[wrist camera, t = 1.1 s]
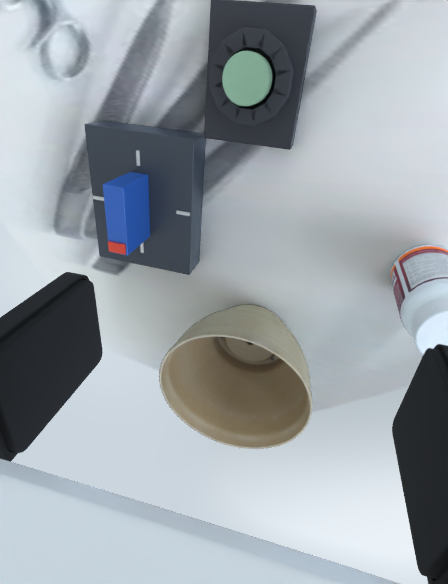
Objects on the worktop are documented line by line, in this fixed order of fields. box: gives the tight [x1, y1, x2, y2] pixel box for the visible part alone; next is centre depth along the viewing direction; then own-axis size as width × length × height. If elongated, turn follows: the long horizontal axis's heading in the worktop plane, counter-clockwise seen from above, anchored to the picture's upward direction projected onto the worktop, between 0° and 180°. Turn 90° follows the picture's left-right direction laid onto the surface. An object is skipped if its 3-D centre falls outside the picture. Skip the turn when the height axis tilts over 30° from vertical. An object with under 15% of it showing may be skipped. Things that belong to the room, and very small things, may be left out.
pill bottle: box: [390, 245, 448, 355], centre depth 31 cm, size 6×6×11 cm
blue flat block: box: [103, 172, 150, 255], centre depth 34 cm, size 6×2×5 cm, turn 175°
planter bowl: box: [159, 305, 312, 449], centre depth 41 cm, size 16×16×11 cm
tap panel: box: [85, 120, 206, 275], centre depth 38 cm, size 14×11×4 cm
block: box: [204, 0, 316, 149], centre depth 30 cm, size 10×8×4 cm
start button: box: [222, 51, 272, 106], centre depth 28 cm, size 4×4×2 cm
